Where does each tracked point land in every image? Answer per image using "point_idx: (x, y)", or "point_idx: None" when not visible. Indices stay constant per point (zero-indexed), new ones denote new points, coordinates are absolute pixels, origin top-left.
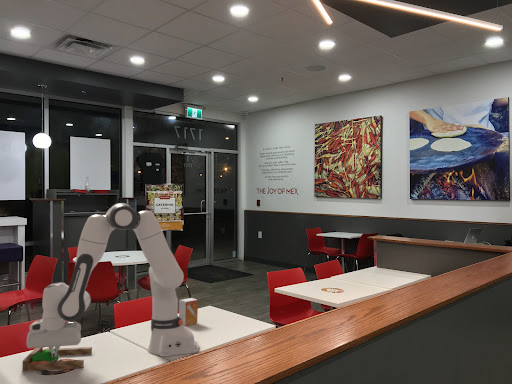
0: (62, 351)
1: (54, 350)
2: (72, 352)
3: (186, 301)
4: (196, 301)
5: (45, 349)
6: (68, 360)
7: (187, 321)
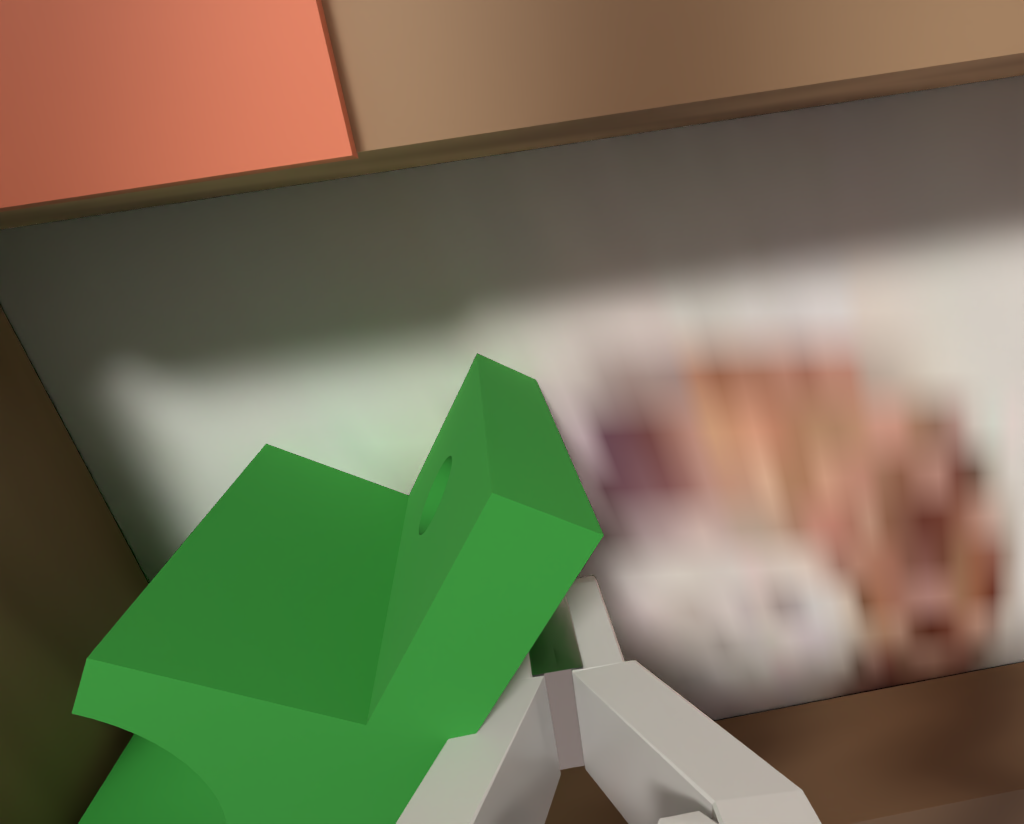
0: (590, 121)
1: (513, 644)
2: (895, 89)
3: None
4: None
5: (118, 697)
6: (929, 810)
7: None
